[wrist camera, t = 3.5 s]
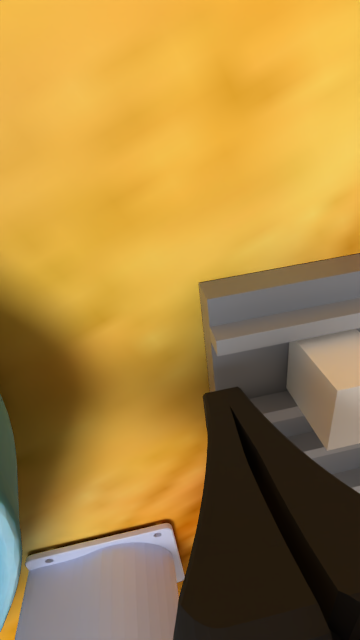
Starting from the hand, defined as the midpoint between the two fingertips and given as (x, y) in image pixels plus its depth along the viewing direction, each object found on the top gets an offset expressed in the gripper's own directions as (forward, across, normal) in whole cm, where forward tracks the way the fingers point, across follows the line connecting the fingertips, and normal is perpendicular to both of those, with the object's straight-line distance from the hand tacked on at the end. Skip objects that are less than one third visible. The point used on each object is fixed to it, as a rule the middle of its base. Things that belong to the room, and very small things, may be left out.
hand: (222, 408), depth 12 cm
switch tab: (+2, -5, 0) cm, 5 cm away
